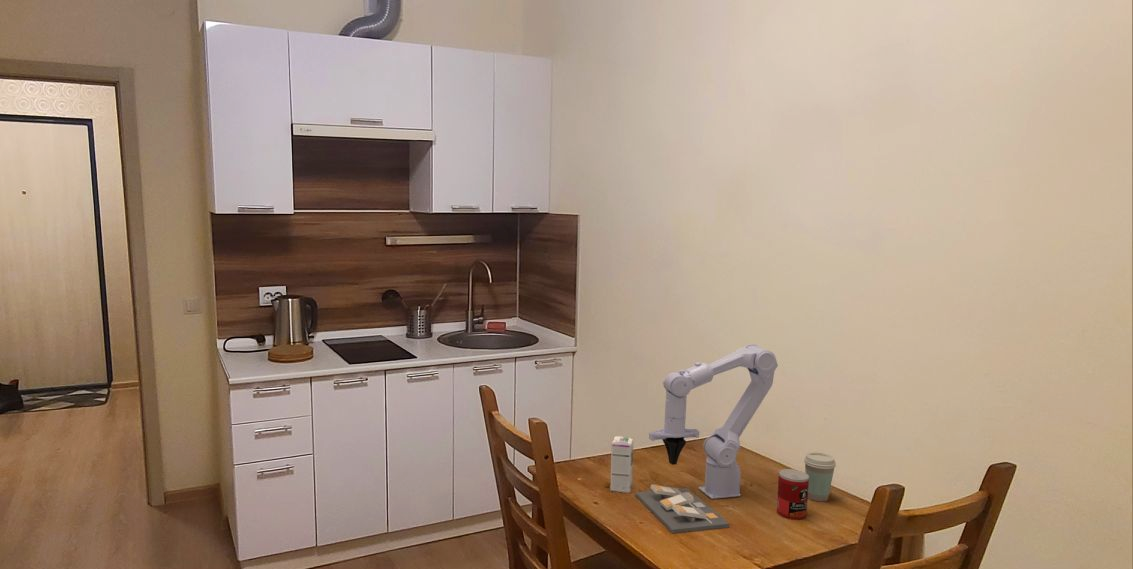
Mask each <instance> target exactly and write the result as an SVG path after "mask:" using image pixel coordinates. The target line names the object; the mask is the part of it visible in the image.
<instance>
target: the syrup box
mask: <svg viewBox="0 0 1133 569" xmlns="http://www.w3.org/2000/svg"><path fill="white" fill-rule="evenodd" d="M610 455H611V456H610V483H609V485H610V487H609V488H610V489H609V490H610V491H611V492H618V493H627V494H628V493H631V490H632V487H633V471H634V470H633V469H634V465H633V464H634V438H633V437H630V436H620V435H619V436H614V438H613V439H612V441H611V453H610Z"/></svg>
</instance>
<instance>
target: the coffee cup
mask: <svg viewBox="0 0 1133 569" xmlns="http://www.w3.org/2000/svg"><path fill="white" fill-rule="evenodd" d="M803 462H804V466H805V467H804V468H805V470H804V471H805V472H804V473H806V474H807V475H808V476H809V487H808V499H810V500H812V501H815V502H826V501H828V500H829V496H830V492H831V486H832V482H833V477H834V473H835V472H834V471H835V468H836V466H837V465H836V461H835V458H834V457H833V456H832V455H830V454H827V453H822V452H808V453H807V454H806V456H805V457H804V460H803Z"/></svg>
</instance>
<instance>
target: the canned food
mask: <svg viewBox="0 0 1133 569" xmlns="http://www.w3.org/2000/svg"><path fill="white" fill-rule="evenodd" d="M777 483H778V484H777V497H776V498H777V499H776V511H777V514H779V516H781V515H782V517H783V516H784V518H786V519H789V518H791V519H790V520H802V519H804V518H805V517H806V515H807V512H808V499H809V498H808V487H809V476H808V475H807V474H806V472H804V471H802V470H798V469H794V468H793V469H792V468H784V469H780V470H779V473H778V482H777ZM801 518H802V519H801Z"/></svg>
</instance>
